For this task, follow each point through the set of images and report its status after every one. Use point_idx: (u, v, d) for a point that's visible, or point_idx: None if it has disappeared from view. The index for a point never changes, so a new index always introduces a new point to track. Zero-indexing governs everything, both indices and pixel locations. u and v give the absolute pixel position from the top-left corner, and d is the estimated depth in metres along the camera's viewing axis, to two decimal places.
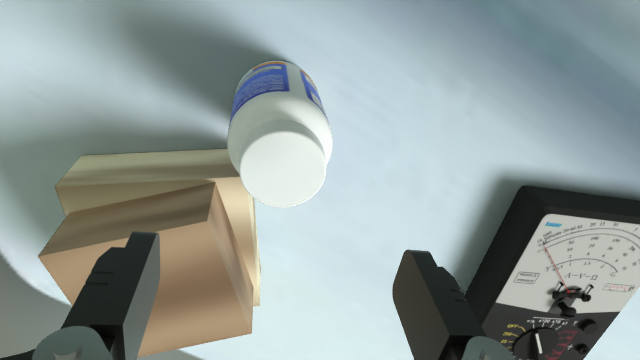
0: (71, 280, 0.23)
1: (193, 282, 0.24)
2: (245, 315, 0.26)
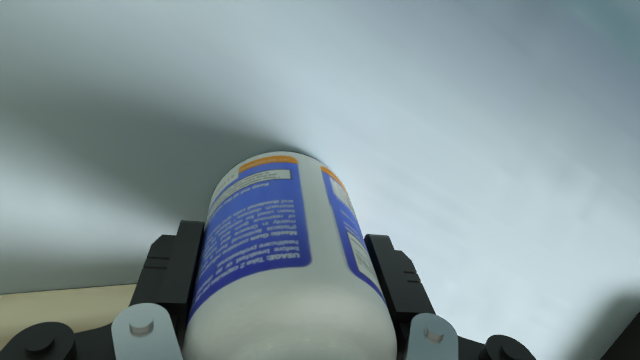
0: None
1: None
2: None
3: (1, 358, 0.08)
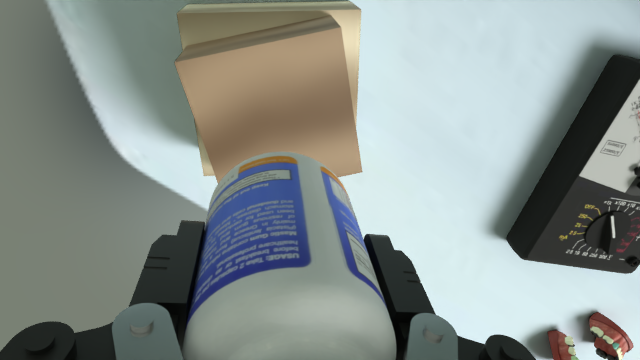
0: (201, 94, 0.23)
1: (316, 104, 0.24)
2: (358, 150, 0.26)
3: (2, 358, 0.08)
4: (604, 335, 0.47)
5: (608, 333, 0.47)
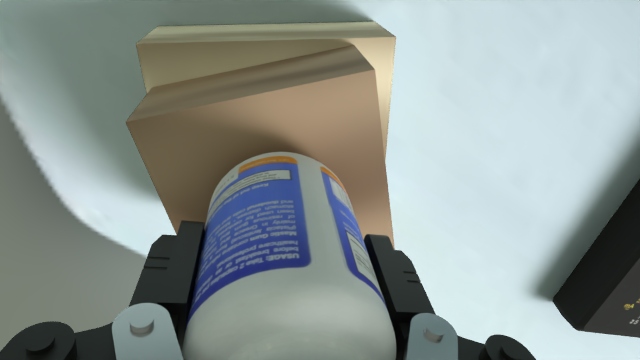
0: (168, 165, 0.16)
1: (336, 175, 0.17)
2: None
3: (2, 358, 0.08)
4: None
5: None
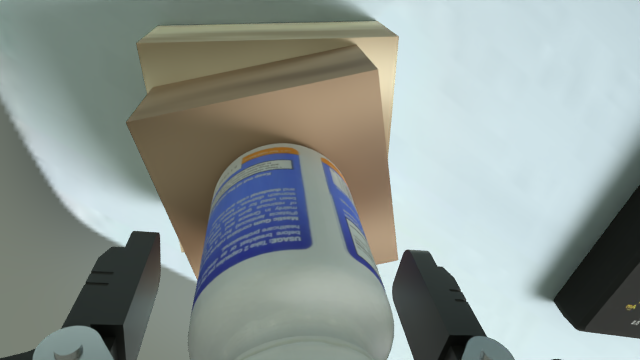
0: (169, 166, 0.15)
1: None
2: None
3: None
4: None
5: None
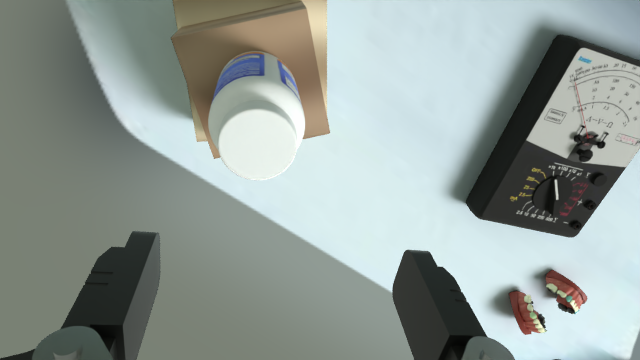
0: (193, 65, 0.28)
1: None
2: (326, 114, 0.31)
3: None
4: (558, 290, 0.52)
5: (561, 288, 0.52)
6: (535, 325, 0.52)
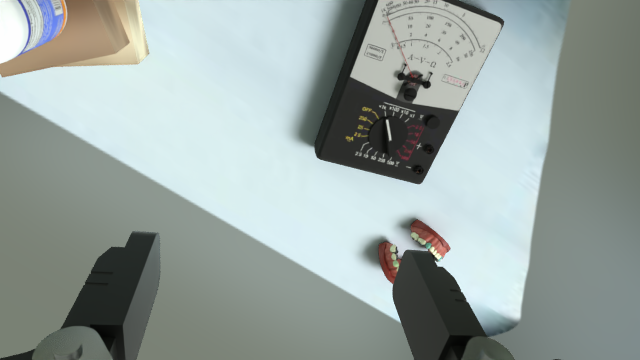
0: None
1: None
2: (108, 33, 0.32)
3: None
4: (419, 238, 0.53)
5: (422, 235, 0.53)
6: None
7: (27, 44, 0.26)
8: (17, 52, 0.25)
